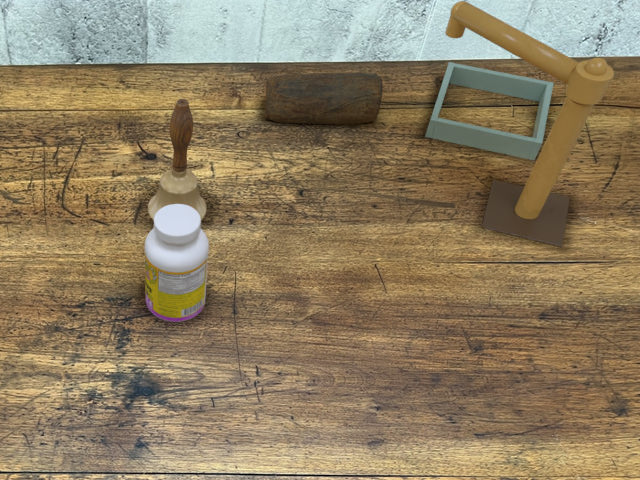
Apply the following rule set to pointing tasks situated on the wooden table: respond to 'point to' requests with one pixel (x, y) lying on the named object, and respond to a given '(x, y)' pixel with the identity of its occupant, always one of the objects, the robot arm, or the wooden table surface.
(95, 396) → the wooden table surface
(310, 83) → the dark brown wooden log
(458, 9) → the spout
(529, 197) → the tap mount
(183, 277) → the supplement bottle
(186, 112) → the hand bell
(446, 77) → the grey-green rectangular frame
